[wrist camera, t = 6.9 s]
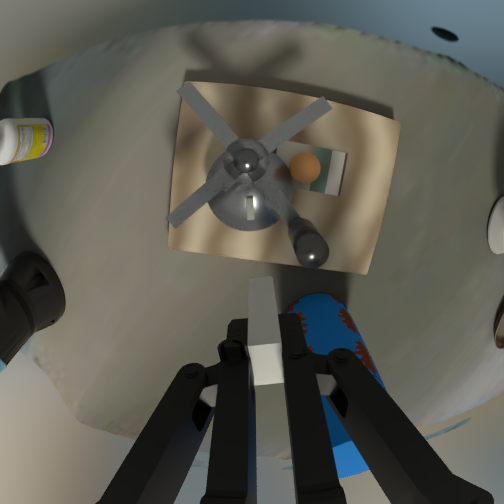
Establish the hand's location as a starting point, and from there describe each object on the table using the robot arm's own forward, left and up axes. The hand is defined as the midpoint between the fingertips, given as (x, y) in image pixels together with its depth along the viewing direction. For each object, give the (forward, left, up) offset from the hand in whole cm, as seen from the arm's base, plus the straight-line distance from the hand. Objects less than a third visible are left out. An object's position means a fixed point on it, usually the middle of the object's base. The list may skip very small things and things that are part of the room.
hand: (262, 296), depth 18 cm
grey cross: (-2, +8, -18) cm, 19 cm away
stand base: (+3, +6, -20) cm, 21 cm away
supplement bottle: (-36, +10, -20) cm, 43 cm away
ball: (+4, +8, -18) cm, 20 cm away
